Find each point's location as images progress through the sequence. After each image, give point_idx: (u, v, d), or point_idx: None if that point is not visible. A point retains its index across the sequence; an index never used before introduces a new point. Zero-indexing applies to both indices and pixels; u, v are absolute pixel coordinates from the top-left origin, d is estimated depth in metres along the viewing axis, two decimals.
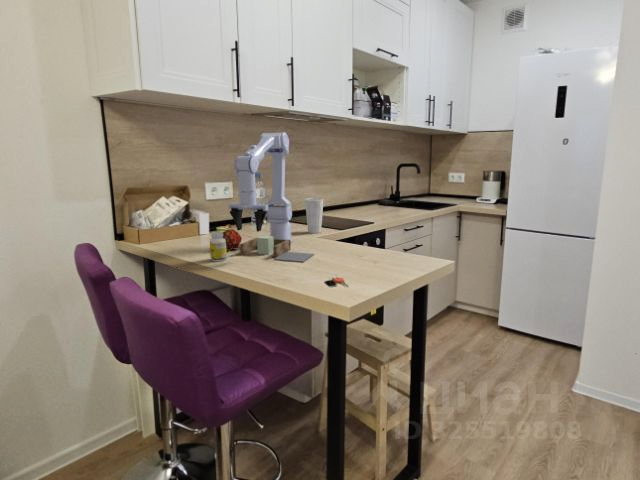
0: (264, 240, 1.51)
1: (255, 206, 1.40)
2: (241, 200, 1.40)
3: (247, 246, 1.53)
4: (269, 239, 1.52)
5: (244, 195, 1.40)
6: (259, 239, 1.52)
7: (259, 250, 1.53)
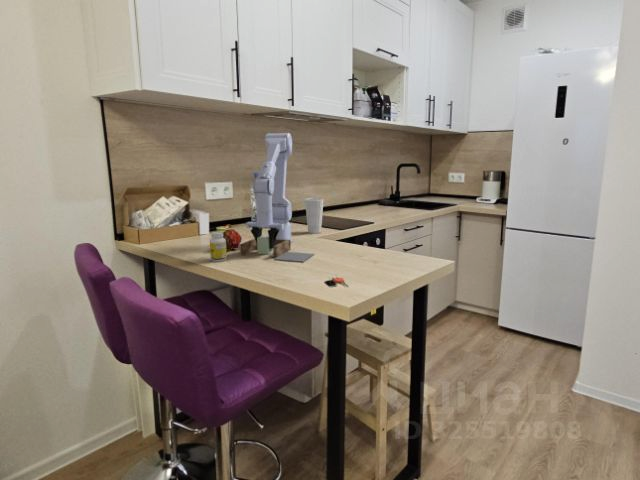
0: (264, 240, 1.51)
1: (272, 225, 1.50)
2: (259, 220, 1.50)
3: (247, 246, 1.53)
4: None
5: (261, 215, 1.49)
6: (259, 239, 1.52)
7: (259, 250, 1.53)
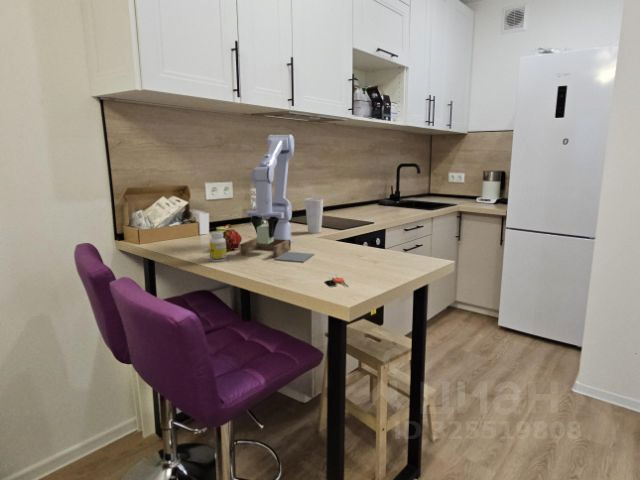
0: (264, 229, 1.50)
1: (271, 214, 1.49)
2: (258, 208, 1.49)
3: (247, 246, 1.53)
4: None
5: (261, 203, 1.48)
6: (259, 228, 1.51)
7: (259, 239, 1.52)
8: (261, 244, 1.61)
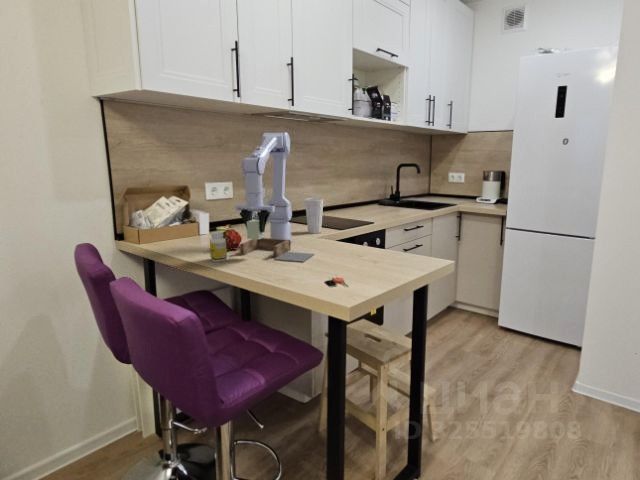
0: (254, 224, 1.43)
1: (262, 207, 1.41)
2: (248, 201, 1.41)
3: (247, 246, 1.53)
4: (259, 223, 1.43)
5: (251, 196, 1.41)
6: (249, 223, 1.44)
7: (249, 235, 1.45)
8: (261, 244, 1.61)
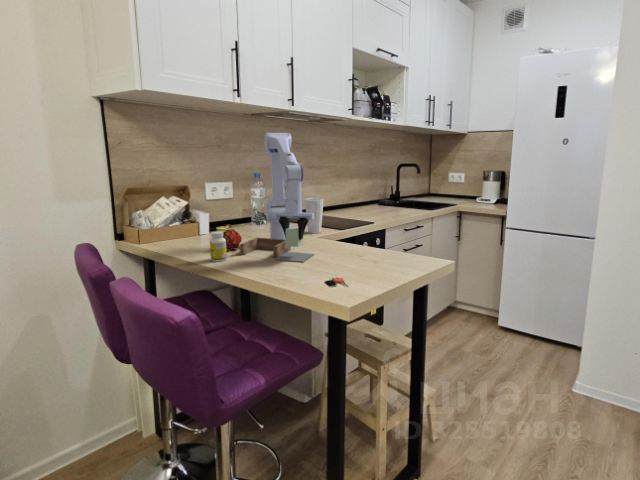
0: (293, 231, 1.43)
1: (302, 215, 1.41)
2: (288, 209, 1.42)
3: (247, 246, 1.53)
4: (298, 230, 1.43)
5: (290, 204, 1.41)
6: (288, 231, 1.44)
7: (287, 242, 1.45)
8: (261, 244, 1.61)
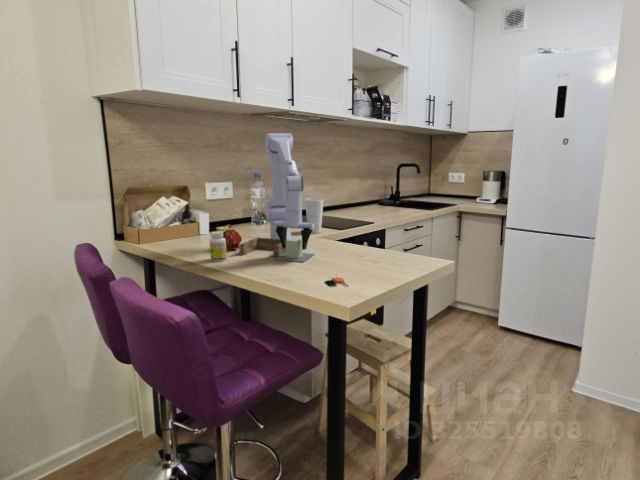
0: (293, 243, 1.44)
1: (302, 225, 1.42)
2: (288, 219, 1.42)
3: (247, 246, 1.53)
4: (298, 242, 1.44)
5: (290, 214, 1.42)
6: (288, 242, 1.45)
7: (288, 253, 1.45)
8: (261, 244, 1.61)
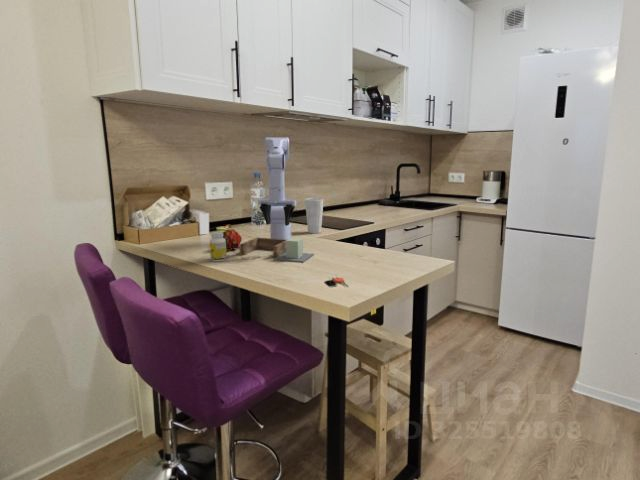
0: (293, 243, 1.44)
1: (284, 201, 1.49)
2: (271, 196, 1.49)
3: (247, 246, 1.53)
4: (298, 242, 1.44)
5: (274, 191, 1.48)
6: (288, 242, 1.45)
7: (288, 253, 1.45)
8: (261, 244, 1.61)
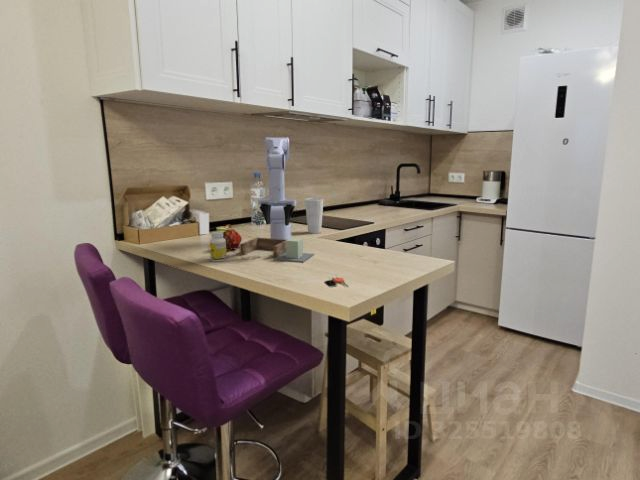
0: (293, 243, 1.44)
1: (284, 201, 1.49)
2: (271, 196, 1.49)
3: (247, 246, 1.53)
4: (298, 242, 1.44)
5: (273, 191, 1.48)
6: (288, 242, 1.45)
7: (288, 253, 1.45)
8: (261, 244, 1.61)
